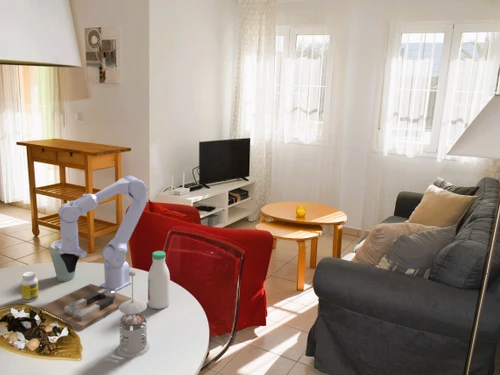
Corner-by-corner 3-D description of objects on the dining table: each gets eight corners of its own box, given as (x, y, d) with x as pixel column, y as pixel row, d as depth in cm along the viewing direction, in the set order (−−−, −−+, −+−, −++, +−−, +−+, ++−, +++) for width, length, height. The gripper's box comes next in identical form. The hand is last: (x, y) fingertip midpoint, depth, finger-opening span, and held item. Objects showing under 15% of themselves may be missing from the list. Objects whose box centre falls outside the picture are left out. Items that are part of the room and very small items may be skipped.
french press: (118, 360, 121) (116, 280, 115) (114, 338, 131) (112, 264, 126) (152, 353, 125) (152, 275, 119) (146, 332, 135) (145, 260, 130)
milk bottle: (173, 302, 155) (174, 251, 151) (161, 311, 148) (161, 258, 144) (156, 297, 158) (156, 247, 154) (143, 306, 152) (143, 254, 147)
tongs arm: (106, 292, 157) (106, 286, 156) (118, 296, 154) (118, 290, 153) (64, 312, 142) (63, 306, 141) (76, 318, 139) (76, 311, 138)
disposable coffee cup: (83, 278, 170) (82, 243, 167) (56, 286, 163) (54, 250, 159) (72, 270, 177) (71, 236, 174) (46, 277, 170) (43, 242, 166)
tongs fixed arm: (105, 300, 151) (105, 295, 151) (113, 303, 149) (113, 298, 149) (74, 317, 139) (73, 311, 139) (82, 321, 138) (82, 314, 137)
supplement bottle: (31, 303, 150) (30, 278, 147) (18, 301, 151) (16, 276, 148) (42, 296, 155) (40, 271, 153) (29, 294, 156) (27, 269, 154)
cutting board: (90, 287, 164) (90, 283, 163) (131, 301, 154) (131, 298, 154) (39, 311, 145) (39, 307, 144) (82, 329, 135) (82, 325, 135)
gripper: (46, 235, 151) (48, 270, 155) (74, 244, 145) (76, 280, 148) (63, 230, 158) (64, 264, 161) (90, 238, 151) (92, 273, 154)
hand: (71, 271), depth 155 cm, fingers closed
